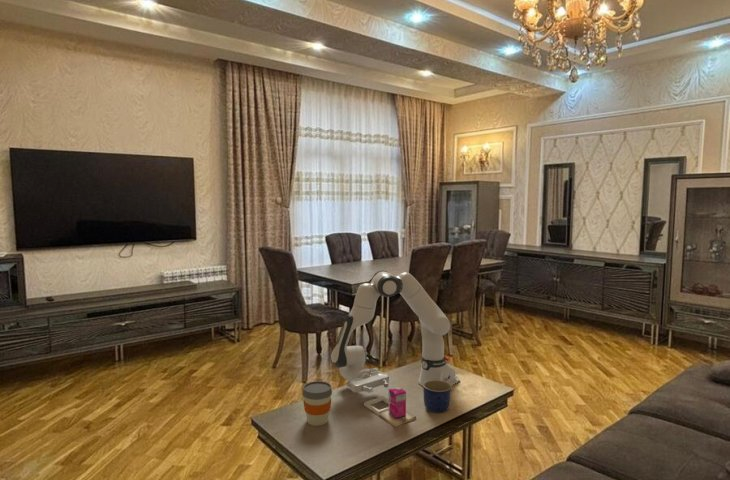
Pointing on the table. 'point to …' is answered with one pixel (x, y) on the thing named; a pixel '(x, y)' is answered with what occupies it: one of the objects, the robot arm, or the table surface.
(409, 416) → the board
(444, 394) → the planter
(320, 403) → the reusable coffee cup
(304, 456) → the table surface
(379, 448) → the table surface
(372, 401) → the square tray
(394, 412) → the supplement box
